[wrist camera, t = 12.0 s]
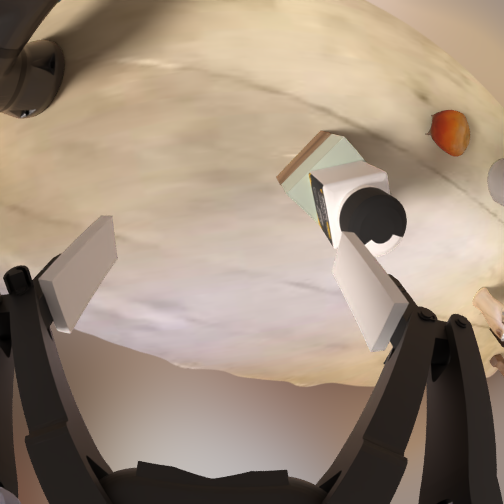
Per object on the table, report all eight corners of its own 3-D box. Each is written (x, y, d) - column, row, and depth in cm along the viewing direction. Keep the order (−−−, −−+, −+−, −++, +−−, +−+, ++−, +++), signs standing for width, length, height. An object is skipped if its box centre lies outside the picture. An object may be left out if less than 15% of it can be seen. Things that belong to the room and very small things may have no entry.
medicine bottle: (307, 171, 32) (338, 201, 21) (361, 159, 31) (413, 183, 20) (318, 225, 35) (349, 275, 24) (369, 212, 34) (415, 255, 23)
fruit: (422, 99, 34) (465, 108, 28) (437, 110, 38) (475, 120, 32) (417, 144, 37) (459, 157, 31) (432, 149, 41) (469, 162, 35)
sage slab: (281, 184, 37) (286, 193, 33) (331, 133, 34) (344, 136, 30) (328, 229, 41) (338, 244, 36) (375, 184, 37) (391, 193, 33)
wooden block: (500, 354, 71) (517, 378, 58) (496, 360, 73) (512, 384, 59) (493, 355, 70) (511, 380, 57) (489, 361, 72) (505, 386, 58)
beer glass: (489, 294, 55) (519, 326, 42) (473, 311, 57) (501, 345, 44) (485, 281, 53) (518, 314, 39) (468, 299, 55) (499, 335, 42)
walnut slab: (276, 176, 42) (280, 184, 37) (320, 130, 38) (329, 132, 34) (320, 217, 45) (328, 228, 40) (362, 174, 42) (374, 182, 37)
